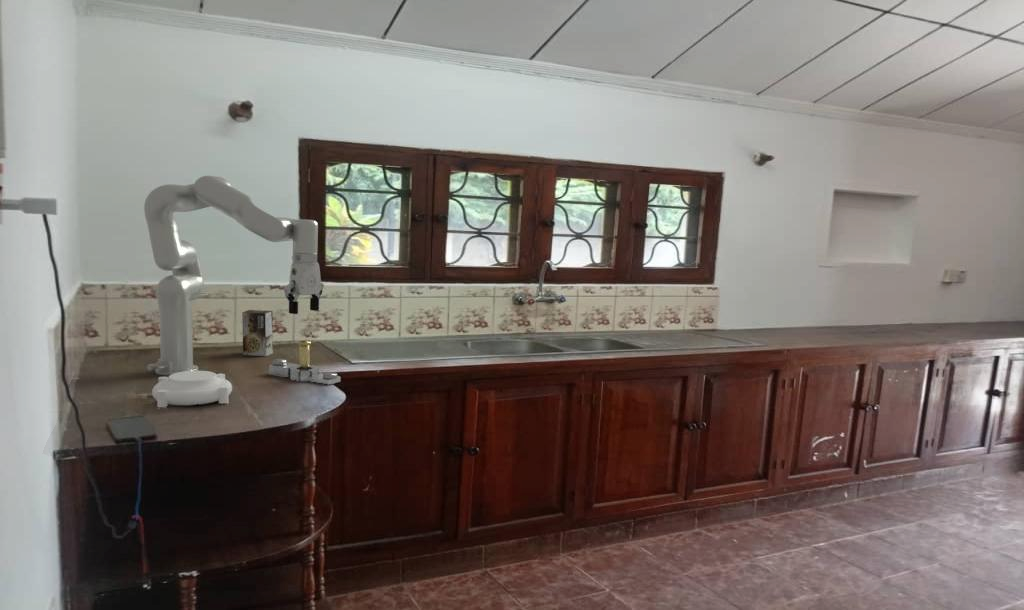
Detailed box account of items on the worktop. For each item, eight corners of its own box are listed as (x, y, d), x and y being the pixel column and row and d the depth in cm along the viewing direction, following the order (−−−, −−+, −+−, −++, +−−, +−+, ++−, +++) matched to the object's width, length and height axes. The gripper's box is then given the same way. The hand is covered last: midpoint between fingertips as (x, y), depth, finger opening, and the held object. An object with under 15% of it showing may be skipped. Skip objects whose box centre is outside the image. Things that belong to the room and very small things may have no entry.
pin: (304, 380, 227) (305, 343, 225) (295, 378, 228) (295, 341, 227) (313, 377, 230) (313, 341, 229) (303, 375, 232) (304, 339, 230)
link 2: (326, 386, 220) (326, 377, 220) (284, 378, 227) (284, 370, 227) (344, 380, 228) (344, 372, 228) (303, 373, 235) (303, 365, 235)
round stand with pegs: (191, 385, 215) (191, 362, 215) (256, 395, 208) (256, 372, 207) (124, 404, 193) (124, 379, 192) (194, 416, 185) (194, 390, 184)
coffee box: (273, 353, 264) (273, 310, 262) (265, 356, 258) (265, 313, 256) (250, 351, 265) (249, 309, 263) (241, 355, 259) (241, 311, 256)
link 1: (305, 382, 224) (305, 369, 223) (264, 375, 231) (264, 361, 230) (324, 377, 231) (324, 364, 231) (284, 370, 239) (284, 357, 238)
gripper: (295, 260, 215) (294, 316, 217) (332, 258, 230) (331, 310, 233) (276, 258, 218) (275, 313, 220) (314, 256, 233) (313, 308, 236)
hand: (304, 312), depth 226 cm, fingers open, 9 cm apart
